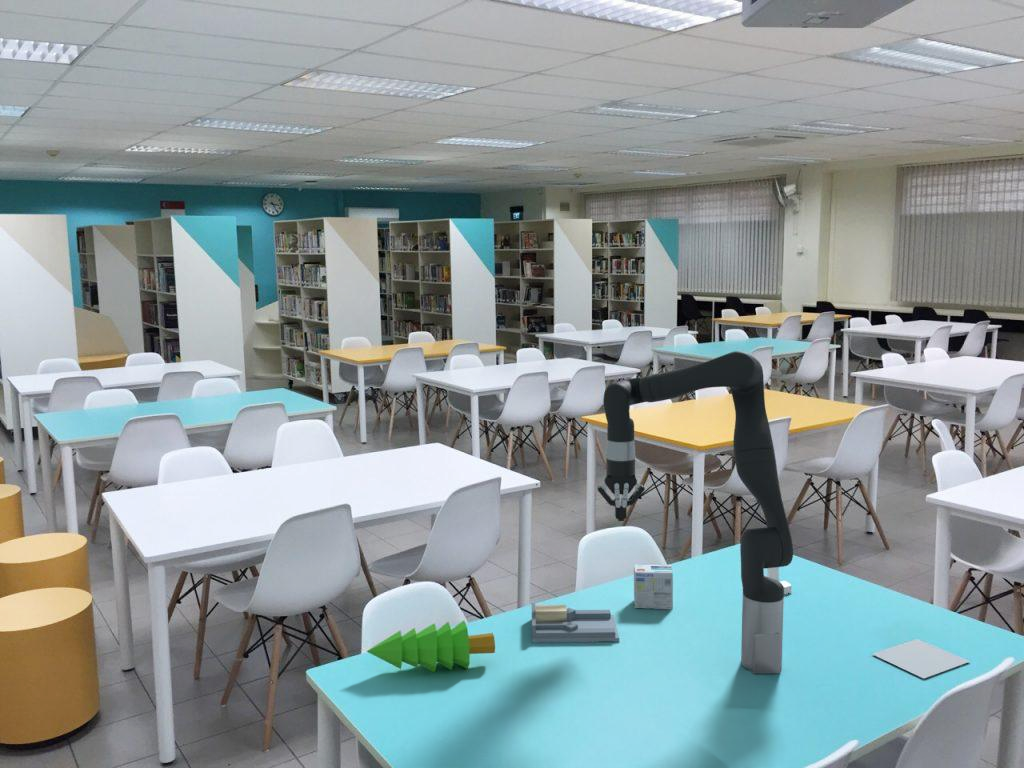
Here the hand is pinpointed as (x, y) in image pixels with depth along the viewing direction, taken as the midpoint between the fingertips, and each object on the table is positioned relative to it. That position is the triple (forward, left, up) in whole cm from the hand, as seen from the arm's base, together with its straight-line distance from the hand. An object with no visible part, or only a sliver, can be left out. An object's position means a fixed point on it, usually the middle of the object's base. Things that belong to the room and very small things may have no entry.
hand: (620, 520), depth 222 cm
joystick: (+17, -45, -27) cm, 55 cm away
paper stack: (-20, -70, -28) cm, 77 cm away
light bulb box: (+8, -10, -27) cm, 30 cm away
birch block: (-8, +19, -26) cm, 33 cm away
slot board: (-8, +13, -27) cm, 31 cm away
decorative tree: (-28, +48, -27) cm, 62 cm away
